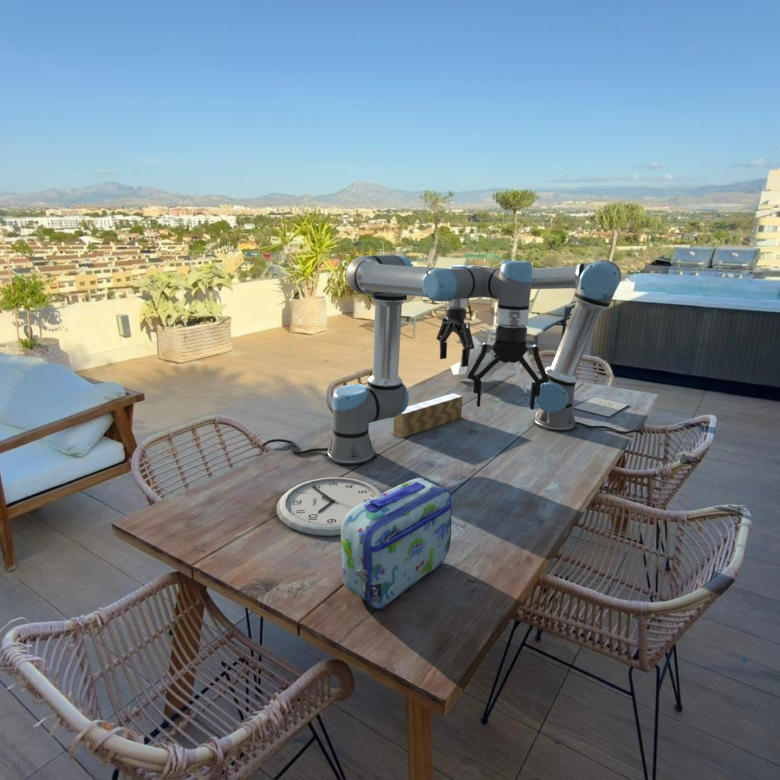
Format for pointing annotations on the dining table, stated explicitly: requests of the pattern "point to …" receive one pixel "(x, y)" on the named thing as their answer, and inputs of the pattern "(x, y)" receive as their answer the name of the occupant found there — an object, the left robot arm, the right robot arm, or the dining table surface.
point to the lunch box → (395, 540)
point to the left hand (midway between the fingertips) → (504, 406)
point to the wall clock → (323, 504)
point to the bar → (428, 415)
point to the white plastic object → (461, 372)
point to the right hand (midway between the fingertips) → (453, 362)
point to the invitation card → (601, 406)
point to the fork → (441, 485)
